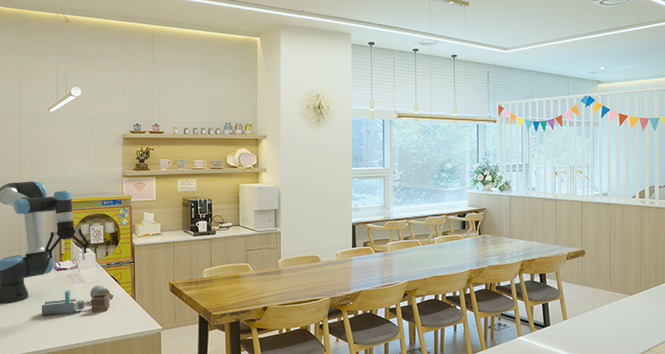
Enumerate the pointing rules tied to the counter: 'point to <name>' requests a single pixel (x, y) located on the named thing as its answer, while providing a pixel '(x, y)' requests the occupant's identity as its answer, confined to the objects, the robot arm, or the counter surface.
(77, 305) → the rod
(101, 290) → the ceramic mug
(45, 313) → the channel
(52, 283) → the counter surface
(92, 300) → the socket
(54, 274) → the counter surface
